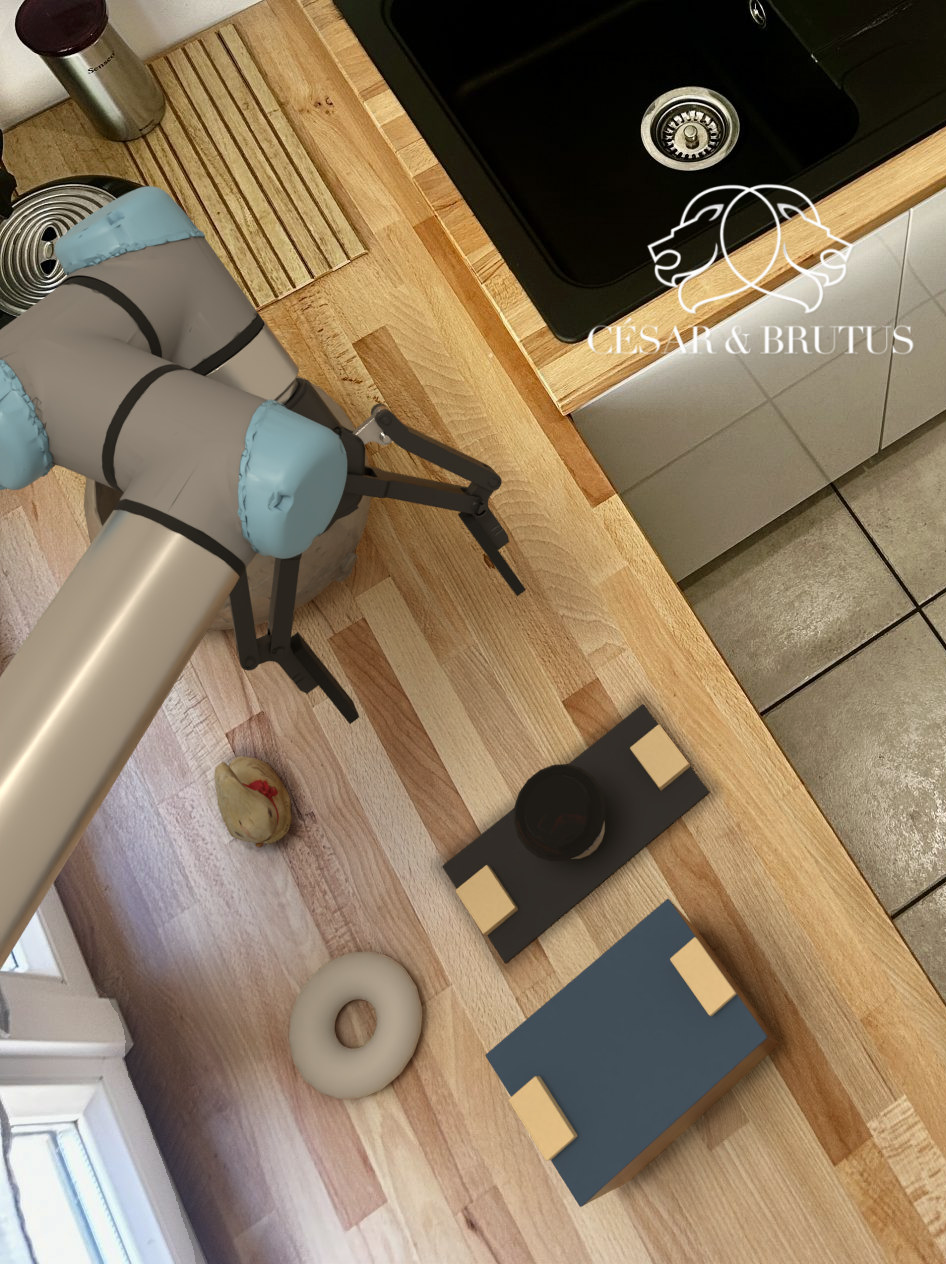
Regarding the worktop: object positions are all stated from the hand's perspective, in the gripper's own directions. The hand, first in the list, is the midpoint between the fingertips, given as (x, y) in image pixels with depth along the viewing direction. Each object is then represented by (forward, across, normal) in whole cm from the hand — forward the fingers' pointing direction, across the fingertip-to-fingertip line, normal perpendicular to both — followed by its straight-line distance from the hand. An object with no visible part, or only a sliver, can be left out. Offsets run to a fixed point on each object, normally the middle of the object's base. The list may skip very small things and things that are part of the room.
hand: (435, 649), depth 102 cm
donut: (+26, +21, -9) cm, 34 cm away
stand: (+37, +4, +2) cm, 37 cm away
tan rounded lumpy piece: (+12, +19, -22) cm, 32 cm away
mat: (+25, 0, -10) cm, 27 cm away
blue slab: (+20, +4, +19) cm, 28 cm away
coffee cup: (+25, 0, -9) cm, 26 cm away
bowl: (-2, +7, -37) cm, 38 cm away
